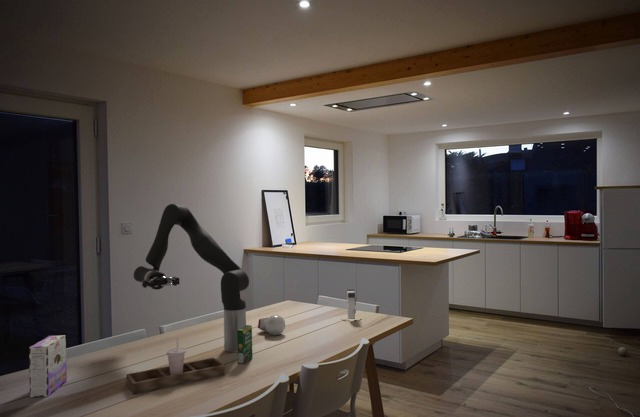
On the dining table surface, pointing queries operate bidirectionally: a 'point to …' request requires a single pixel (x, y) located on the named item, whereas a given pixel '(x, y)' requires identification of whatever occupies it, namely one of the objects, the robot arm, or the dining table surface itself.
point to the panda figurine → (351, 303)
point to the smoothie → (176, 360)
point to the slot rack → (163, 379)
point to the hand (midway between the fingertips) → (165, 284)
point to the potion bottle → (272, 324)
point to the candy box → (47, 365)
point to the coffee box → (244, 344)
